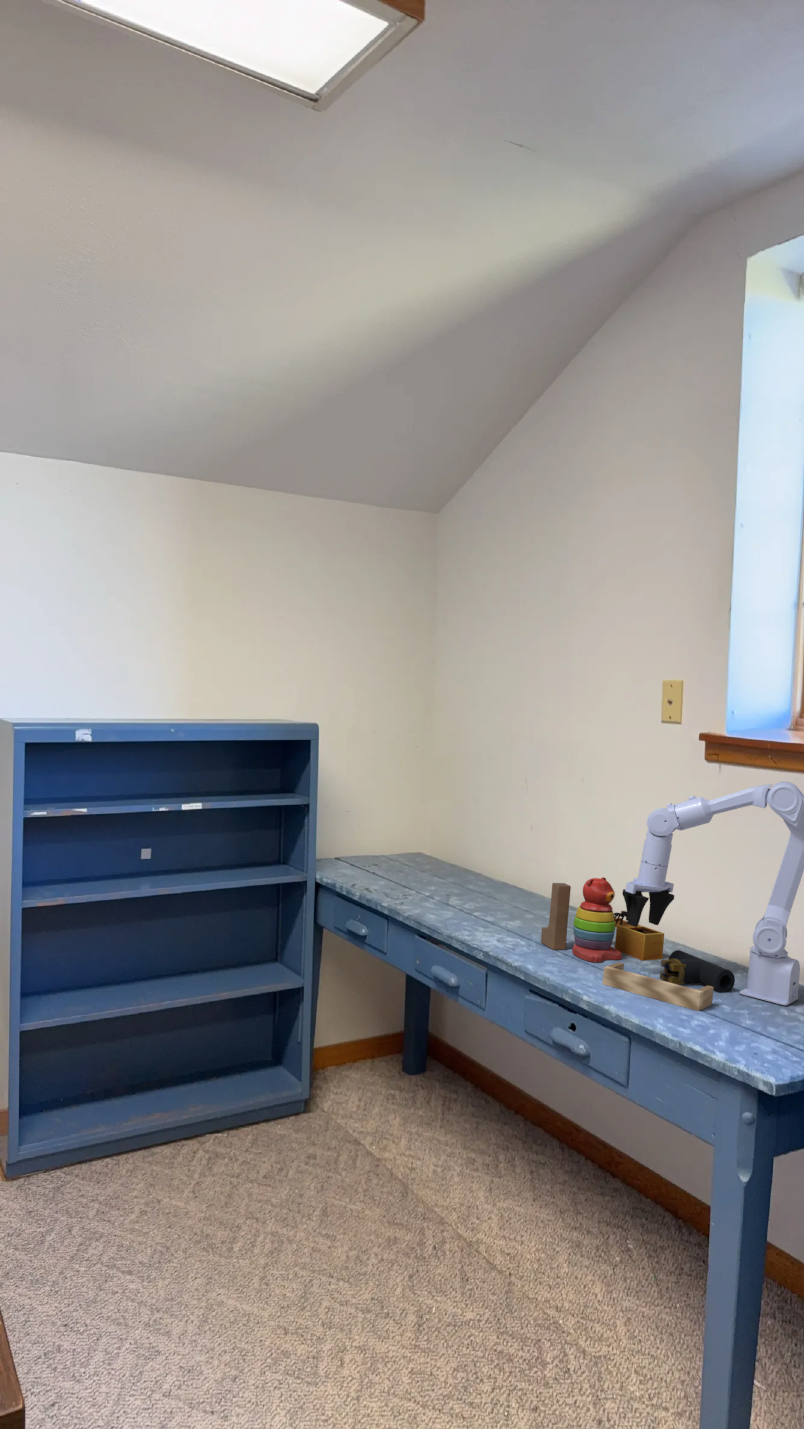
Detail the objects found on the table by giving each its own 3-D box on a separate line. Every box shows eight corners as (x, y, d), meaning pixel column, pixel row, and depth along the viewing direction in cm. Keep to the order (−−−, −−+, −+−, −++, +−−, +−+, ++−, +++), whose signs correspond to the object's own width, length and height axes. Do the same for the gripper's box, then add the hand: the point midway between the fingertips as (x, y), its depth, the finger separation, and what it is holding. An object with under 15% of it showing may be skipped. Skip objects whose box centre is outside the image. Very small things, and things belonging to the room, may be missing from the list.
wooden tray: (712, 1004, 185) (713, 987, 185) (698, 1011, 180) (700, 993, 180) (617, 979, 198) (618, 962, 198) (602, 984, 193) (603, 967, 193)
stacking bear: (593, 963, 209) (600, 883, 209) (560, 952, 217) (566, 875, 217) (625, 959, 216) (632, 881, 216) (592, 948, 224) (598, 873, 224)
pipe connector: (692, 969, 191) (645, 949, 205) (689, 995, 191) (642, 974, 205) (736, 968, 196) (687, 949, 210) (733, 994, 196) (684, 973, 210)
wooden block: (565, 950, 220) (571, 885, 219) (553, 950, 219) (558, 885, 218) (552, 942, 226) (557, 880, 226) (540, 942, 225) (545, 879, 225)
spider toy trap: (617, 942, 232) (620, 904, 232) (662, 959, 219) (666, 919, 219) (597, 943, 229) (600, 905, 228) (642, 960, 216) (645, 920, 215)
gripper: (658, 858, 212) (647, 917, 212) (618, 858, 202) (607, 920, 203) (685, 866, 206) (674, 927, 207) (646, 867, 197) (634, 930, 198)
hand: (643, 924), depth 205 cm, fingers open, 7 cm apart
